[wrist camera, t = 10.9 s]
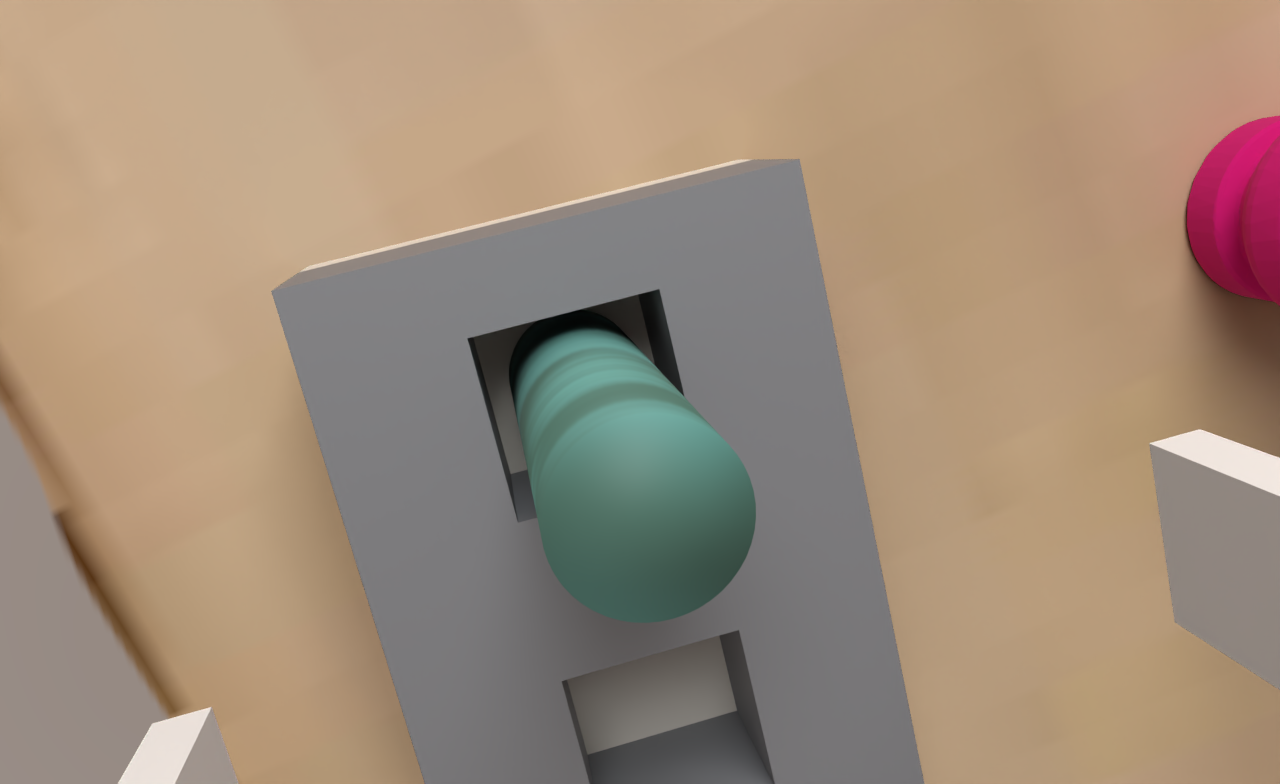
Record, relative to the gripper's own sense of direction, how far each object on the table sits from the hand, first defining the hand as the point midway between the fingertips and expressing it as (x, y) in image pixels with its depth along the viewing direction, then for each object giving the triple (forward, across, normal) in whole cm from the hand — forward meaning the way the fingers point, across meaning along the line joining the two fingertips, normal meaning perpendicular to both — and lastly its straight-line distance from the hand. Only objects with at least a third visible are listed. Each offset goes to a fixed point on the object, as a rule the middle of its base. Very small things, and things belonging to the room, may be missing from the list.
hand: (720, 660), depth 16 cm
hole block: (+23, 0, +5) cm, 23 cm away
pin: (+21, 0, 0) cm, 21 cm away
